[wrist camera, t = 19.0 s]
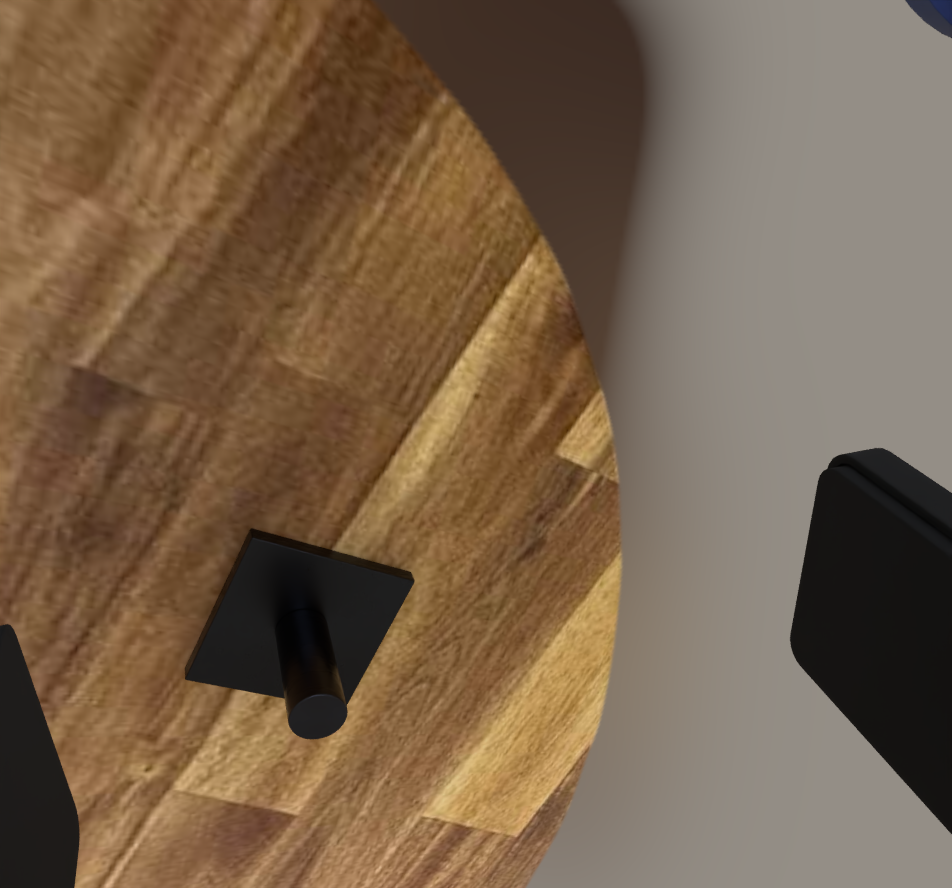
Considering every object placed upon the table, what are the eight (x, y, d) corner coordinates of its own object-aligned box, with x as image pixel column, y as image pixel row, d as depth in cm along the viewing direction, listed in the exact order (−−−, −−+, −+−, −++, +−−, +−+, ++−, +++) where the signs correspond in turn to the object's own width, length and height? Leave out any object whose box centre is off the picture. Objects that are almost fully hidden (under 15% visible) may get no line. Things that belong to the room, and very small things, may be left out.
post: (250, 527, 39) (263, 619, 33) (411, 571, 42) (446, 661, 37) (184, 668, 41) (185, 775, 36) (342, 699, 45) (365, 801, 39)
